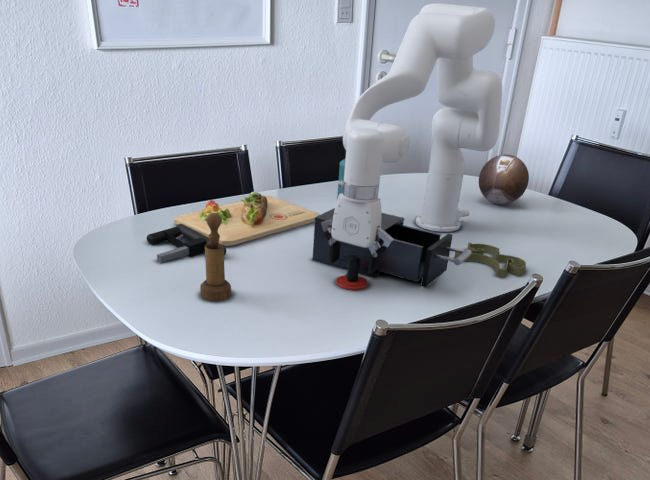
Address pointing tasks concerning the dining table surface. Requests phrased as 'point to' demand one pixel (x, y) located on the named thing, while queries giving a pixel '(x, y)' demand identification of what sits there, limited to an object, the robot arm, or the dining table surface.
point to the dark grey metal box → (323, 248)
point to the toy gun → (180, 242)
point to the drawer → (418, 254)
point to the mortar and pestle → (215, 265)
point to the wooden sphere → (503, 179)
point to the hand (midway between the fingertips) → (353, 266)
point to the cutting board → (248, 218)
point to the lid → (352, 276)
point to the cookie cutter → (495, 259)
